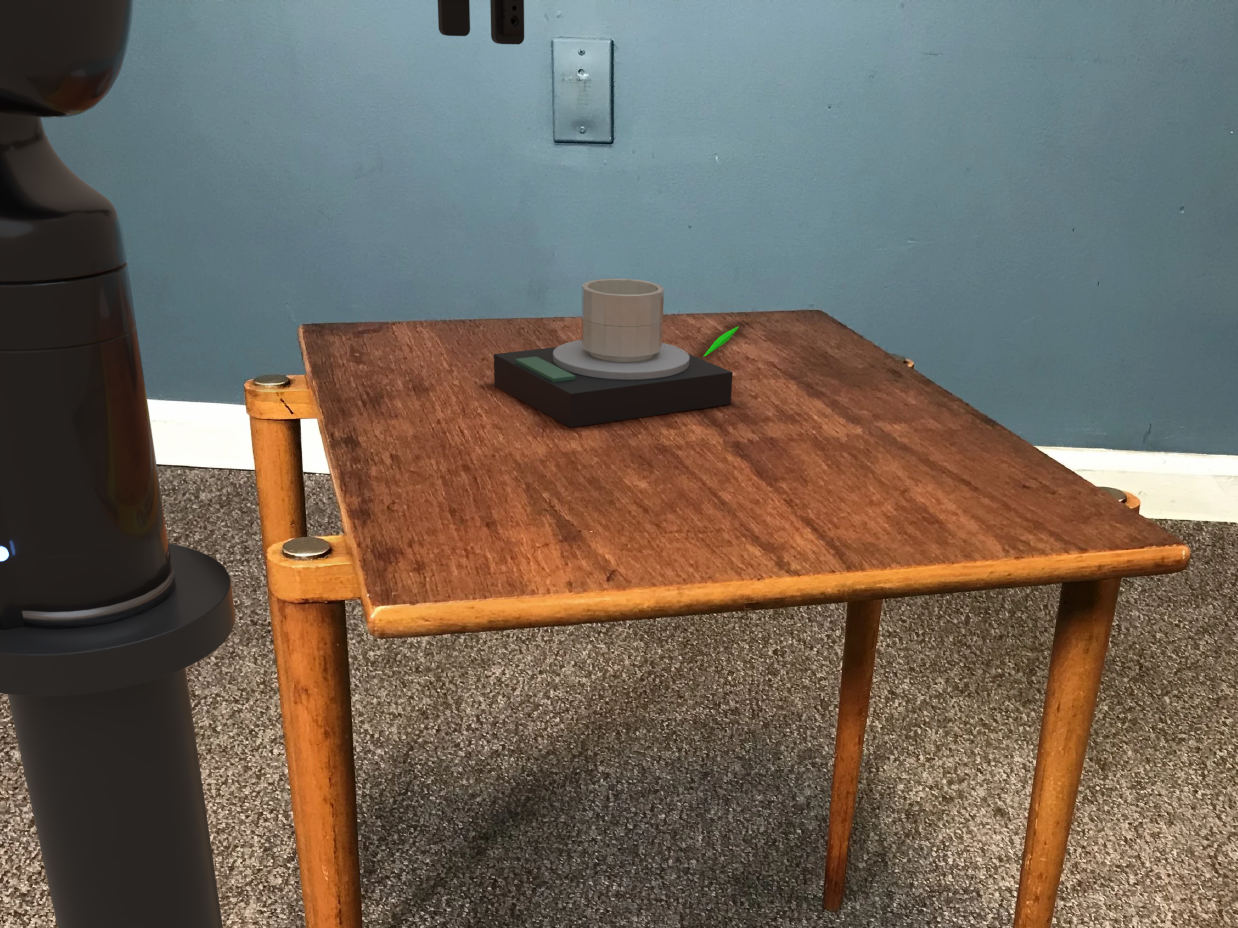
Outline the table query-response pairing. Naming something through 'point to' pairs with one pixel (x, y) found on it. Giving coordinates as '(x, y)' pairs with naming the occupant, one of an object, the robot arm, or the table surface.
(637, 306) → the white cup
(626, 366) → the scale
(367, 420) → the table surface
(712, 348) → the leaf
